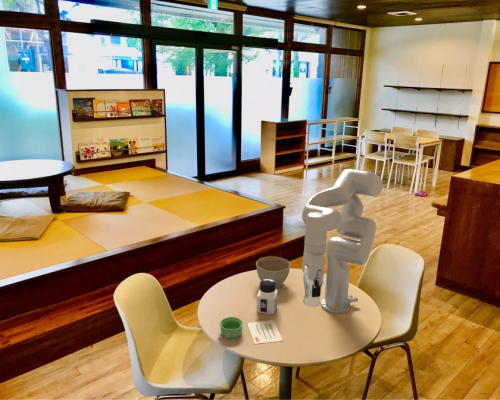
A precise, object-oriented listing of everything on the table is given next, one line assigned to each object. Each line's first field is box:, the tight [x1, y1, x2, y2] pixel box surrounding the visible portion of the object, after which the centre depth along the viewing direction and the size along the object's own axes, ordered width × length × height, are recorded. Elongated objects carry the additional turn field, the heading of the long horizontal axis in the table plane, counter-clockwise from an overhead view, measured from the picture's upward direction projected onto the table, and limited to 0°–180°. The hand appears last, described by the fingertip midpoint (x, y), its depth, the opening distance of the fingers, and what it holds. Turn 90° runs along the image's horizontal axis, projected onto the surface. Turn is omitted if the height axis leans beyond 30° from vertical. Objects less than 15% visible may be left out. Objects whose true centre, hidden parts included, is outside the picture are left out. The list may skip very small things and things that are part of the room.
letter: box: [246, 319, 284, 345], centre depth 164 cm, size 11×14×1 cm
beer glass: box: [302, 266, 321, 308], centre depth 154 cm, size 7×7×15 cm
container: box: [256, 279, 279, 315], centre depth 178 cm, size 8×8×13 cm
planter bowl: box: [255, 256, 291, 289], centre depth 200 cm, size 16×16×11 cm
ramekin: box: [219, 316, 244, 340], centre depth 162 cm, size 9×9×4 cm
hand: (312, 291), depth 155 cm, fingers closed on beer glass, 6 cm apart
